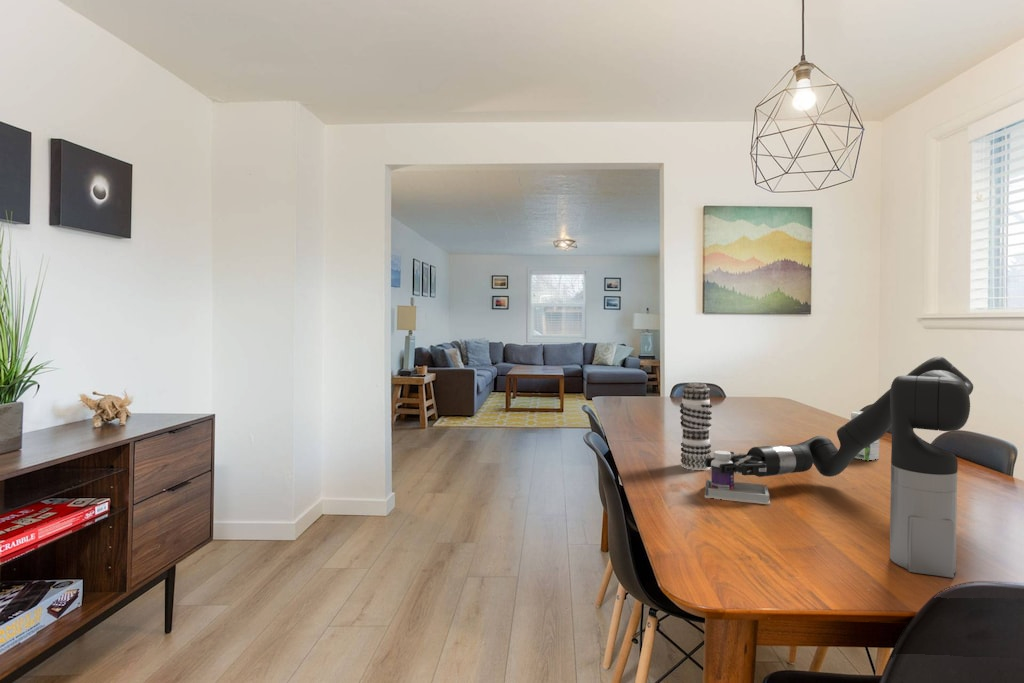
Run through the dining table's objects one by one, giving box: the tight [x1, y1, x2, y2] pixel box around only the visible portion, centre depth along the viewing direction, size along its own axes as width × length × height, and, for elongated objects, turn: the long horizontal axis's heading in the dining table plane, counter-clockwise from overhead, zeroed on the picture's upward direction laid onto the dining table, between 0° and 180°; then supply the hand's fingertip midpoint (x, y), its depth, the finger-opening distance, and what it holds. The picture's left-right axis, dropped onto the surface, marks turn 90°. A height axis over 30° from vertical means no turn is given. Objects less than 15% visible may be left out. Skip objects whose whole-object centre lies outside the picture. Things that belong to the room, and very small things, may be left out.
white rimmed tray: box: [704, 478, 771, 506], centre depth 132 cm, size 14×10×2 cm
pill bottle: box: [710, 450, 735, 491], centre depth 133 cm, size 5×5×10 cm
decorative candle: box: [679, 382, 713, 471], centre depth 158 cm, size 9×9×25 cm
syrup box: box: [850, 410, 880, 462], centre depth 166 cm, size 6×6×14 cm
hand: (713, 465), depth 133 cm, fingers closed on pill bottle, 5 cm apart
